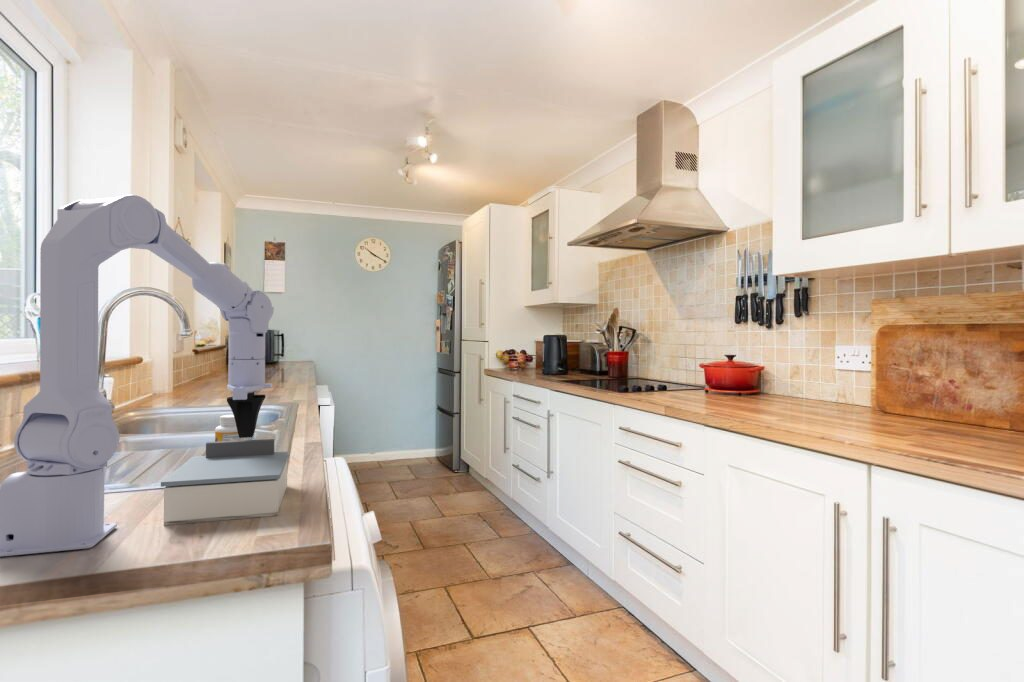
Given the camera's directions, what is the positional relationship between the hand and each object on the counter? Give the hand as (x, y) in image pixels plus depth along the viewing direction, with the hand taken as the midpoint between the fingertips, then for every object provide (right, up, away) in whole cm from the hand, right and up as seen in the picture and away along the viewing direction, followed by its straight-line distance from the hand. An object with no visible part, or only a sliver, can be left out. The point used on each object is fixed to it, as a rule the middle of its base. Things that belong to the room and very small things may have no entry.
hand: (246, 437), depth 92 cm
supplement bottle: (-8, -8, +11) cm, 16 cm away
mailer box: (+4, -8, -12) cm, 15 cm away
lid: (+4, -3, -11) cm, 12 cm away
